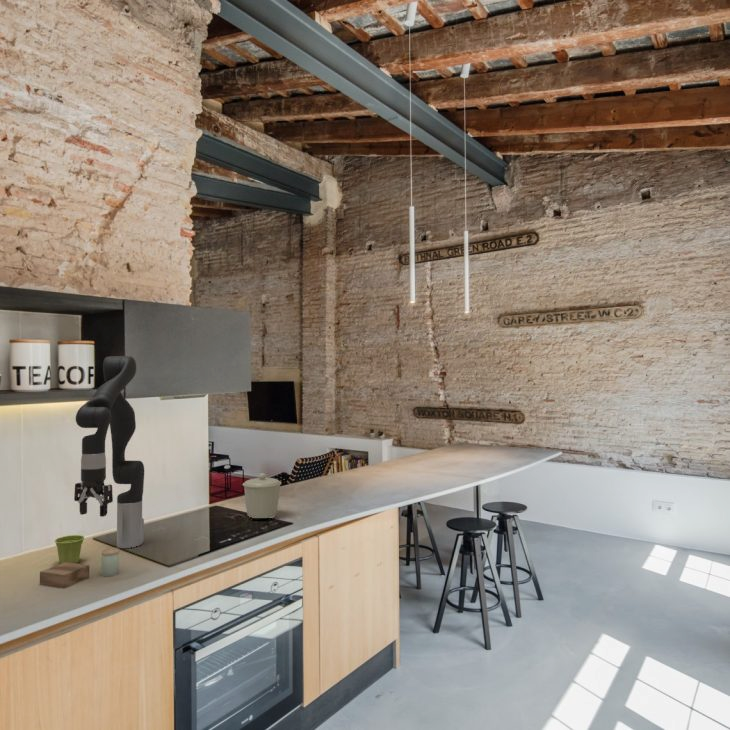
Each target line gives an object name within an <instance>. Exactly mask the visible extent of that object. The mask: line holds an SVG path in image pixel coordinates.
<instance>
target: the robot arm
mask: <svg viewBox="0 0 730 730" xmlns="http://www.w3.org/2000/svg"><path fill="white" fill-rule="evenodd" d="M102 371H103V378H104V379H103V380H104V383H102V385H100V386H99V387H98V388H97V389H96V391H95V392H94V394H93V395H92V398H90V399H89V400H87V401H86V402H85V403H84V404H83V405H81V406H80V407H79V409H78V410H77V412H76V415H75V422H76V425H77V426H78V427H80V428H83V429H96V432H95V433H93V434H88V435H85V436H83V438H82V439H81V458H80V481H81V482H77V483H75V484H74V498H73V499H74V501H75V502H78V504H79V515H86V514H88V502H87V501H88V499H89V498H95V500H96V501H97V502H98V504H99V516H100V517H101V518H102V517H103V518H104V517H106V516H107V514H108V505H109V504H110V503H113V502H114V497H113V485H112V484H105V480H106V479H107V476H106V475H107V458H106V438H107V434H108V430H109V428H110V437H111V449H112V451H111V452H112V455H111V460H112V461H111V466H112V467H111V468H112V470H111V471H112V479H113V482H114V483H115V484H118V485H130V487H129V490H127V491H124V492H121V493H120V494H117V497H116V548H119V549H130V548H131V547H132V548H136V546H137V547H140V546H141V545H142V544H143V543H145V539H144V538H145V519H144V517H143V495H144V483H145V465H144V463H143V462H142V461H141V460H126V457H125V454H126V448H127V446H128V445H129V442H130V441H131V440H132V438H133V436H134V434H135V432H136V429H137V427H136V425H137V423H136V415H135V414H136V413H135V409H134V408H133V407H132V405H131V404H130V402H129V401H128V400H127V399H126V398H125V397H124V395H123V393H122V391H123V390H124V389H125V388H126V387H127V386H128V385H129V383H130V382H131V381H132V380H133V379H134V377H135V375H136V374H137V373H136V372H137V362H136V360H135V358H134V357H133V356H131V355H130V356H129V355H116V356H115V355H112V356H111V355H110V356H106V357H104V359H103V363H102Z"/></svg>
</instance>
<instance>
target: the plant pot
mask: <svg viewBox="0 0 730 730" xmlns="http://www.w3.org/2000/svg"><path fill="white" fill-rule="evenodd" d="M84 540H85V536H84V535H81V534H80V535H79V534H73V535H65V536H62V537H58V538H56V539H55V540H54V543H55V545H56V547H57V548H56V549H57V555H58V565H59V564H62V563H65V562H70V563H77V564H79V561H80V557H81V550H82V545H83V541H84Z"/></svg>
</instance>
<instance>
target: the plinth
mask: <svg viewBox="0 0 730 730" xmlns="http://www.w3.org/2000/svg"><path fill="white" fill-rule="evenodd" d="M88 578H90V564H84V563H70V562H65V563H62V564H59V563H58V564H57V565H54V566H52V567H48V568H46V569H44V570H42V571H39V585H41V586H48V587H52V588H53V587H54V588H61V589H65V588H68V587H70V586H72V585H75V584H77V583H79V582H81V581H83V580H86V579H88Z"/></svg>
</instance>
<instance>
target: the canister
mask: <svg viewBox="0 0 730 730" xmlns="http://www.w3.org/2000/svg"><path fill="white" fill-rule="evenodd" d="M281 485H282V481H280V480H279V479H277V478H275V477H274V478H273V477H267V475H266V473H264V472H262V473H259V474H258V476H257V477H256V478H255V477H254V478H251V479H248V480H246V481H244V482H243V483H242V486H243V489H244V498H245V499H244V500H245V507H246V514H247V517H248V516H249V517H252V518H268V517H273V516H275V515H276V516H277V514H278V509H279V498H280V489H281V488H280V487H281ZM276 516H275V517H276ZM249 517H248V518H249Z"/></svg>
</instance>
